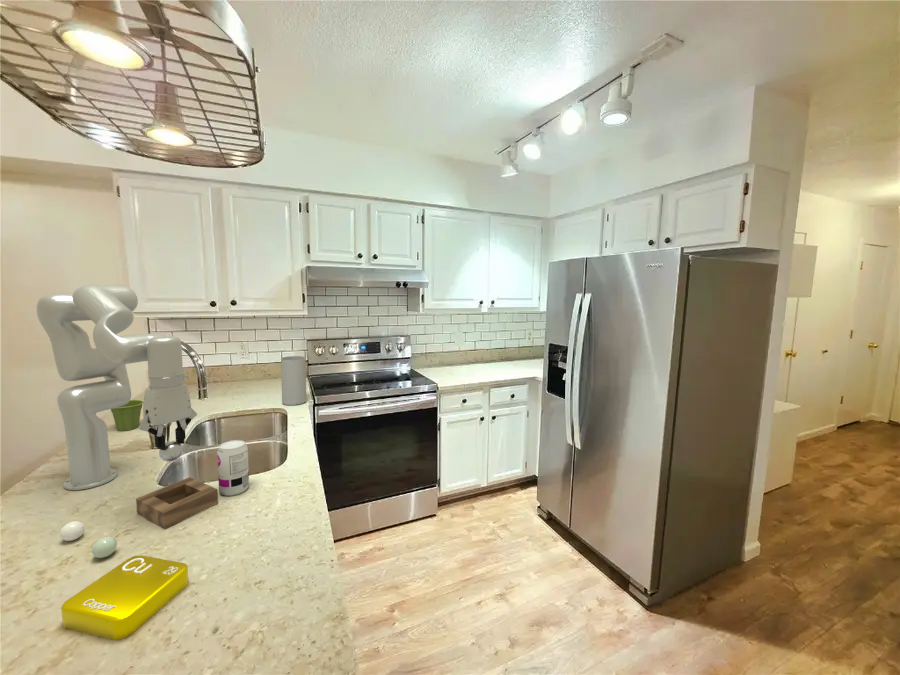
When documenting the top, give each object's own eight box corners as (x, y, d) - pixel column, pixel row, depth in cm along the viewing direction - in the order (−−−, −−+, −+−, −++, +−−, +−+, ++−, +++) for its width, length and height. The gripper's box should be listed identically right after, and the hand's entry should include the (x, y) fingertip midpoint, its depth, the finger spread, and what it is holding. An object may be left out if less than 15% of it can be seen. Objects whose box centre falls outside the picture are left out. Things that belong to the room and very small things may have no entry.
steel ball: (155, 461, 105) (154, 443, 104) (177, 454, 110) (176, 436, 109) (166, 466, 102) (164, 447, 102) (187, 459, 107) (186, 440, 107)
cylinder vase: (276, 404, 206) (275, 359, 203) (292, 398, 218) (291, 355, 215) (296, 407, 202) (295, 361, 199) (311, 400, 214) (310, 357, 211)
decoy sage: (88, 558, 88) (87, 540, 88) (112, 547, 92) (110, 530, 92) (97, 565, 86) (96, 547, 86) (121, 553, 90) (119, 536, 90)
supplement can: (215, 498, 114) (213, 451, 112) (223, 484, 122) (221, 440, 120) (245, 495, 116) (243, 448, 115) (251, 482, 124) (250, 438, 122)
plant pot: (130, 433, 160) (128, 408, 159) (102, 432, 161) (100, 407, 159) (152, 424, 172) (150, 400, 171) (126, 423, 172) (124, 399, 171)
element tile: (56, 628, 71) (54, 605, 70) (136, 570, 86) (135, 551, 85) (122, 644, 68) (120, 620, 68) (193, 581, 83) (192, 561, 82)
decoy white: (57, 541, 94) (55, 524, 93) (80, 531, 98) (79, 515, 97) (65, 547, 92) (63, 530, 91) (88, 536, 96) (87, 520, 95)
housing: (137, 513, 106) (135, 498, 105) (190, 490, 118) (189, 477, 118) (164, 529, 99) (163, 513, 99) (218, 503, 112) (217, 489, 111)
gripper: (191, 374, 112) (195, 433, 115) (122, 386, 98) (127, 453, 100) (206, 377, 109) (209, 438, 111) (136, 390, 94) (142, 460, 97)
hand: (170, 445), depth 106 cm, fingers closed on steel ball, 4 cm apart
